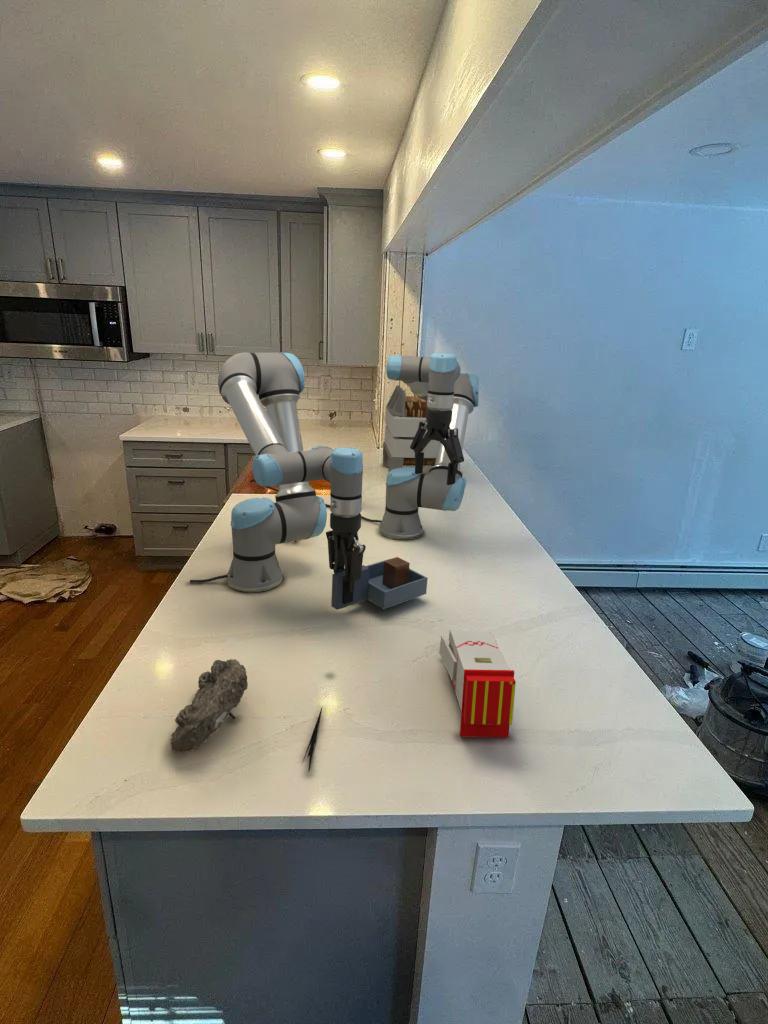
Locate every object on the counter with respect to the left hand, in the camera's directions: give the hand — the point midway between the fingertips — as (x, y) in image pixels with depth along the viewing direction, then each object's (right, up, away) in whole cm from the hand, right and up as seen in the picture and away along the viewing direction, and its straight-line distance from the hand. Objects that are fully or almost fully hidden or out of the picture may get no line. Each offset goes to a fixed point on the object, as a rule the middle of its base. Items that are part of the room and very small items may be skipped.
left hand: (344, 599), depth 144 cm
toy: (+28, -15, -26) cm, 41 cm away
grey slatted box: (+27, +41, +131) cm, 140 cm away
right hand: (+25, +32, +28) cm, 50 cm away
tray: (+7, 0, +7) cm, 10 cm away
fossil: (-22, -17, -36) cm, 45 cm away
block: (+13, +2, +11) cm, 17 cm away
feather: (-2, -18, -36) cm, 40 cm away
